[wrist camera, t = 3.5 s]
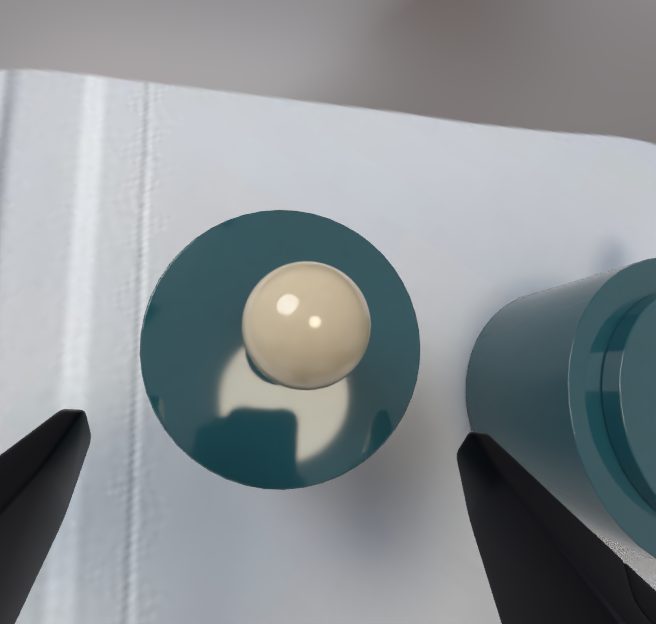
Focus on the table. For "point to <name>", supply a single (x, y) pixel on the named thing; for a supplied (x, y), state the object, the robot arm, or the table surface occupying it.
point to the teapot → (578, 397)
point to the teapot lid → (279, 349)
